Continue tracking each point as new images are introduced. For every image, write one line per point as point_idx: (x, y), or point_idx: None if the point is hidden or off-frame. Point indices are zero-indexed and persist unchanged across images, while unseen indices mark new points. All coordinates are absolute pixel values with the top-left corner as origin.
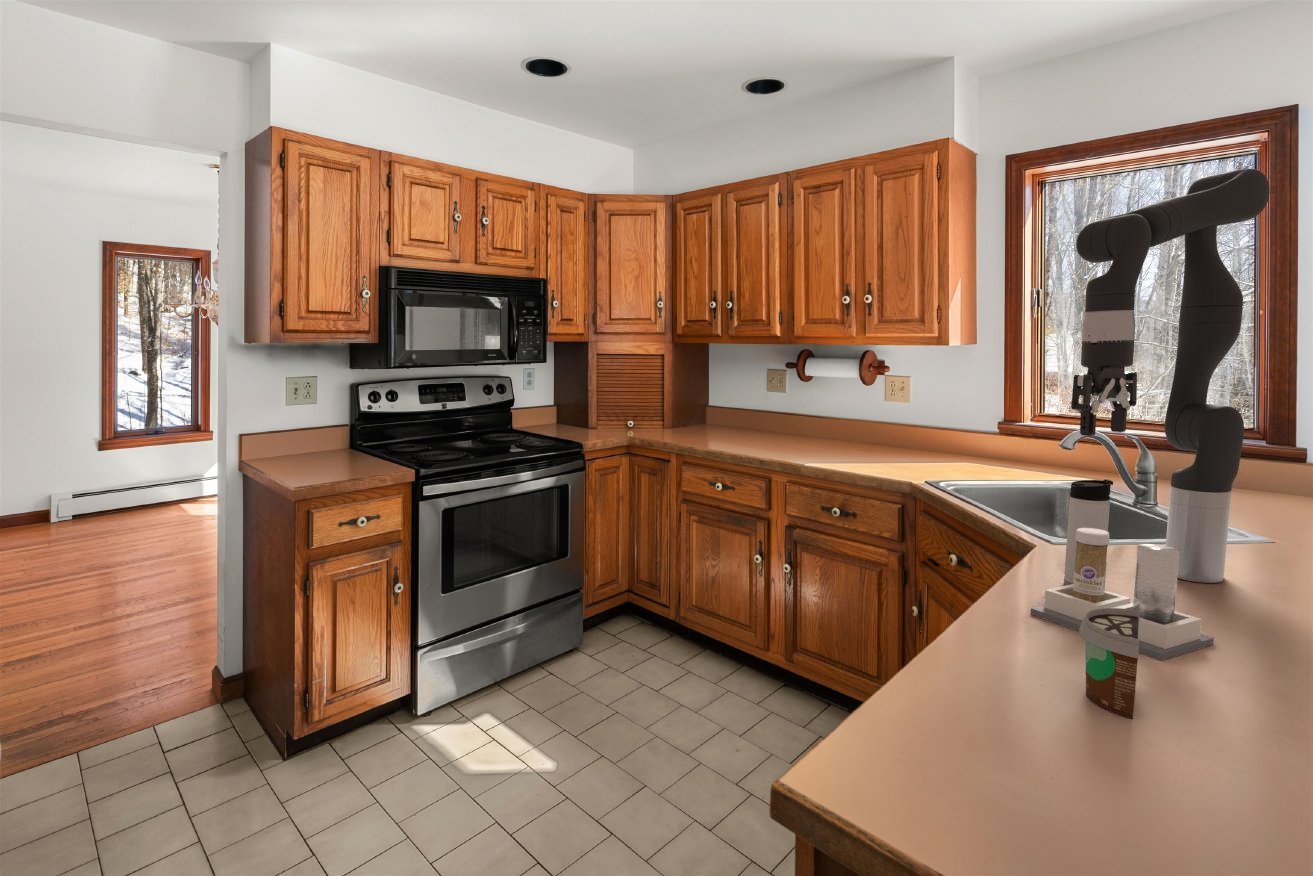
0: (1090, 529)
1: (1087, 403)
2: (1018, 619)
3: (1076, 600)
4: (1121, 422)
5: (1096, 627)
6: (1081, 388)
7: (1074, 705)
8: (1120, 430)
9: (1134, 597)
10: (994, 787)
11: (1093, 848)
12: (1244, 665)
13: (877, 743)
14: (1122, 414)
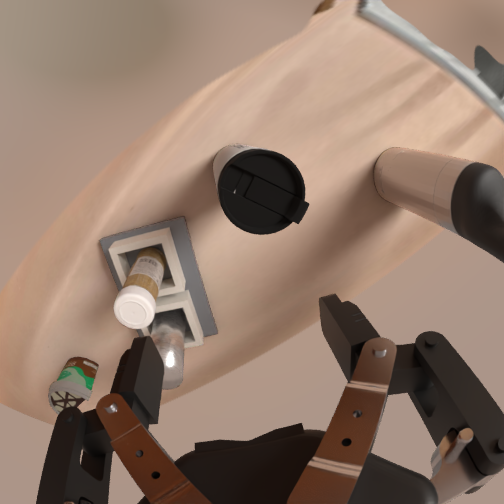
0: (134, 306)
1: (98, 461)
2: (82, 248)
3: (121, 283)
4: (333, 346)
5: (50, 403)
6: (78, 496)
7: (56, 366)
8: (323, 325)
9: (152, 330)
10: (12, 390)
11: (33, 414)
12: (202, 358)
13: None
14: (345, 369)
